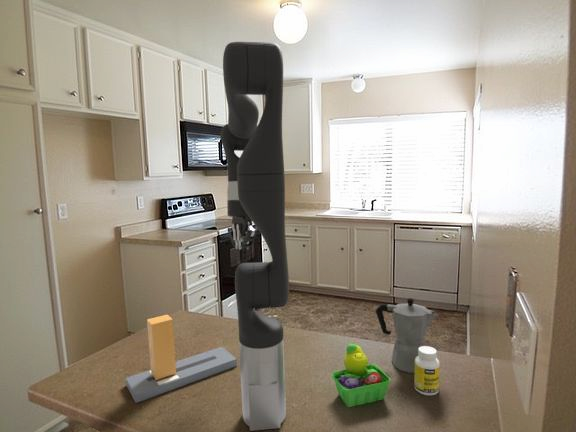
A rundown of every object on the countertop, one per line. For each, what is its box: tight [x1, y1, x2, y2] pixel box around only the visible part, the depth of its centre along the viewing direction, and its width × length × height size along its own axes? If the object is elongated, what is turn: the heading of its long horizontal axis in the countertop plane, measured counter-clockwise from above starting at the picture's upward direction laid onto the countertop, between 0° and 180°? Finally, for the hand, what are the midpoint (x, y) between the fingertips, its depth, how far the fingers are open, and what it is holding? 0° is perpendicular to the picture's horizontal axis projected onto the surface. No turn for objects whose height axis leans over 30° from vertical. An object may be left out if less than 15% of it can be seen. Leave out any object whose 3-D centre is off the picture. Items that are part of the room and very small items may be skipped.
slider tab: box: [146, 314, 177, 380], centre depth 93 cm, size 5×4×14 cm
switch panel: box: [125, 346, 238, 404], centre depth 96 cm, size 26×9×2 cm, turn 126°
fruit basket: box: [331, 342, 391, 408], centre depth 85 cm, size 11×9×11 cm
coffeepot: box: [375, 297, 439, 374], centre depth 98 cm, size 15×9×18 cm, turn 67°
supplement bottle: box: [413, 345, 441, 396], centre depth 87 cm, size 5×5×10 cm
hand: (242, 262), depth 101 cm, fingers closed
